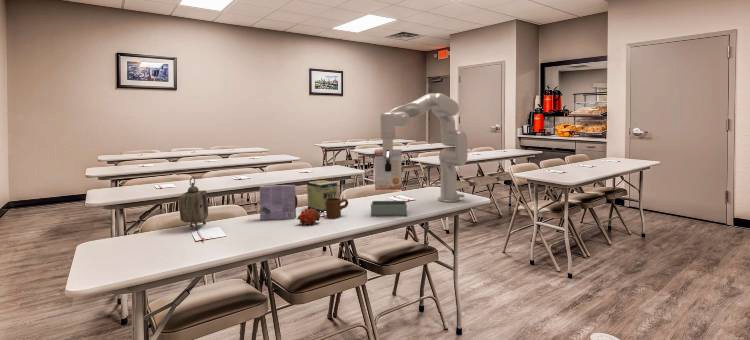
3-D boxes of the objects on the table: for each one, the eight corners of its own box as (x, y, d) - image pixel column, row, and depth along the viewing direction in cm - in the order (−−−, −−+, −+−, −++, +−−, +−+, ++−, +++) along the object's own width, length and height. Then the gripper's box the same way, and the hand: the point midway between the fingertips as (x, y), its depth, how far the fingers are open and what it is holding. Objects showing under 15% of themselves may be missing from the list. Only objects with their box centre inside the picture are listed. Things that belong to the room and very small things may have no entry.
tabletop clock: (200, 231, 205) (196, 179, 202) (180, 232, 205) (176, 179, 201) (209, 223, 220) (205, 174, 216) (190, 224, 219) (186, 175, 215)
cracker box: (402, 188, 232) (401, 149, 229) (401, 190, 226) (401, 150, 223) (375, 188, 234) (375, 149, 231) (374, 190, 228) (374, 150, 225)
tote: (406, 211, 237) (406, 200, 236) (406, 216, 226) (406, 205, 225) (372, 211, 238) (372, 200, 237) (371, 216, 227) (370, 205, 226)
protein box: (323, 213, 237) (322, 185, 235) (307, 208, 249) (306, 181, 246) (338, 210, 244) (337, 182, 242) (322, 205, 255) (321, 179, 253)
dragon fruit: (323, 225, 217) (299, 232, 213) (318, 213, 222) (295, 219, 218) (323, 215, 211) (299, 221, 207) (317, 202, 216) (294, 208, 212)
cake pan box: (298, 216, 231) (296, 183, 228) (298, 218, 226) (296, 185, 223) (261, 218, 227) (259, 185, 225) (260, 221, 223) (258, 187, 220)
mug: (346, 213, 234) (346, 196, 233) (350, 217, 227) (350, 199, 226) (324, 216, 230) (324, 198, 229) (328, 219, 223) (327, 201, 222)
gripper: (381, 135, 235) (382, 168, 237) (379, 137, 218) (380, 173, 220) (395, 135, 234) (395, 168, 237) (394, 137, 217) (395, 172, 220)
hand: (388, 170), depth 229 cm, fingers closed on cracker box, 6 cm apart
